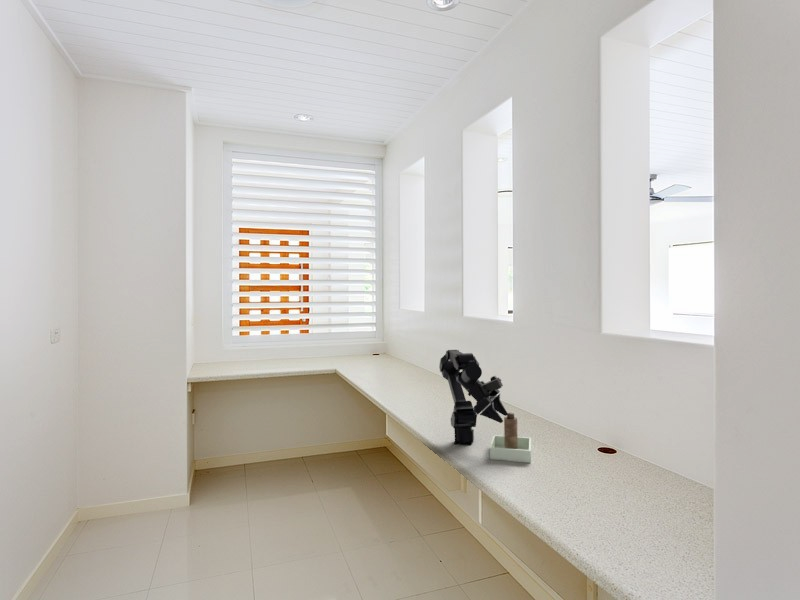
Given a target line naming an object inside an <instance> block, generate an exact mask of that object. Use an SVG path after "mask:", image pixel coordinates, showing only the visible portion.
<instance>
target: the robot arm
mask: <svg viewBox="0 0 800 600" xmlns="http://www.w3.org/2000/svg"><path fill="white" fill-rule="evenodd" d="M439 360H440V361H439V365H438V366H439V372H440V373H441V375H442V377H443V378H444V379H445V380H447V381H448V384H449V389H450V393H451V395H452V401H453V403H454V406H453V410H452V411H453V412H452V413H451V417H450V425H451V427H452V428H453V430H454V441H453V444H454V445H461V446H462V445H463V446H472V444H473V442H474V441H475V436H474V435H475V430H474V429H473V428H476V427H477V418H478V415H479V416H483V417H485V418H488V419H491V420H493V421H495V422H498V423H500V424H502V423H504V419H503V418H502V417H501V416H500V414H501V415H503V416H504V417H507V413H508V411H507V410H506V408H505V406H504V405H503V403H502V401H501V393H500V392H501V390H499V389H502V387H503V386H504V385H503V383H502V379H501V378H500V377H497V376H496V375H494V376H491V377H490V381H487V382H485V381H484V380H481V381H480V380H479V379H480V378H481V376H482V373H483V372H482V368H481V367H480V362H478V360H477V359H476V356H475V355H474V354H473V353H472V352H471V353H469V352H467V353H463V352H461V351H460V350H459V349H447V350H446V351H445V354H444V355H443V356H442V357H441V358H440V359H439ZM463 388H464V389H465V390H466V392H467V395H468V396H469V397H472V398H473V399H474V400H475V401H476V402H475V405H474V406H473V403H472V401H471V400H467V399H466V397H465V393H464V389H463Z"/></svg>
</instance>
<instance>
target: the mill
mask: <svg viewBox="0 0 800 600" xmlns="http://www.w3.org/2000/svg"><path fill="white" fill-rule="evenodd" d="M503 425H504V427H503V429H504V431H503V433H504V435H503V436H504V442H505V448H507V449H518V439H517V437H518V418H517V417H515V413H514V412H507V415H506V416H504V418H503Z"/></svg>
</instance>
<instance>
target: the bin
mask: <svg viewBox="0 0 800 600" xmlns="http://www.w3.org/2000/svg"><path fill="white" fill-rule="evenodd" d="M517 439H518V449H507V448H505V442H504V435H496V434H495V435H492V438H491V443H490V446H489V460H491V461H503V462H504V461H505V462H515V463H516V462H517V463H518V462H519V463H529V464H531V463H532V437H526V436H525V437H524V436H517Z"/></svg>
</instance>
